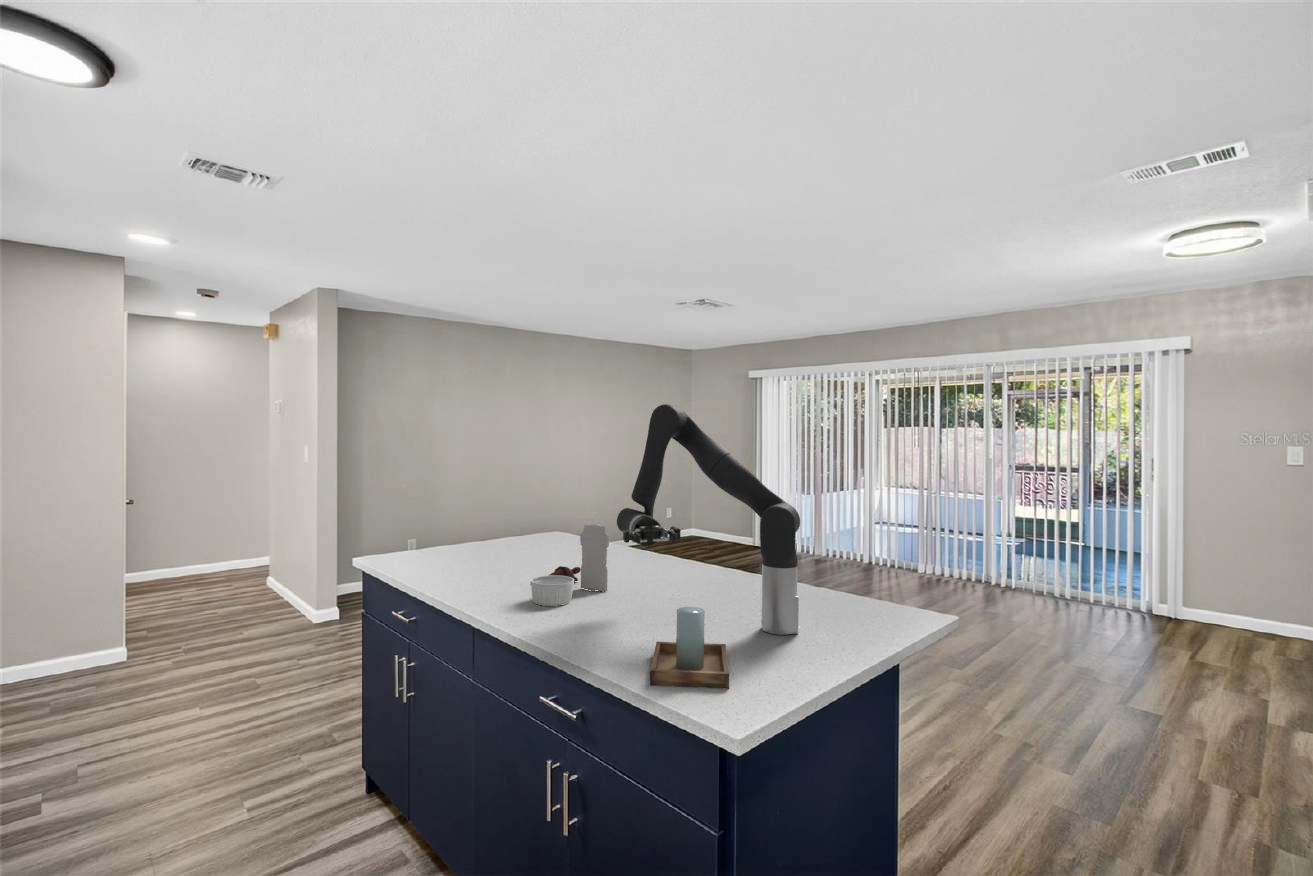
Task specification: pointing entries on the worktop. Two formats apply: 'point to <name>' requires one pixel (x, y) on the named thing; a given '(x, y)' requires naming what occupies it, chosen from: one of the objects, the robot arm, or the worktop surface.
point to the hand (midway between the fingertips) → (656, 538)
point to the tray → (709, 676)
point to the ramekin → (552, 590)
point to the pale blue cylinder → (690, 638)
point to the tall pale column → (594, 557)
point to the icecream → (567, 572)
